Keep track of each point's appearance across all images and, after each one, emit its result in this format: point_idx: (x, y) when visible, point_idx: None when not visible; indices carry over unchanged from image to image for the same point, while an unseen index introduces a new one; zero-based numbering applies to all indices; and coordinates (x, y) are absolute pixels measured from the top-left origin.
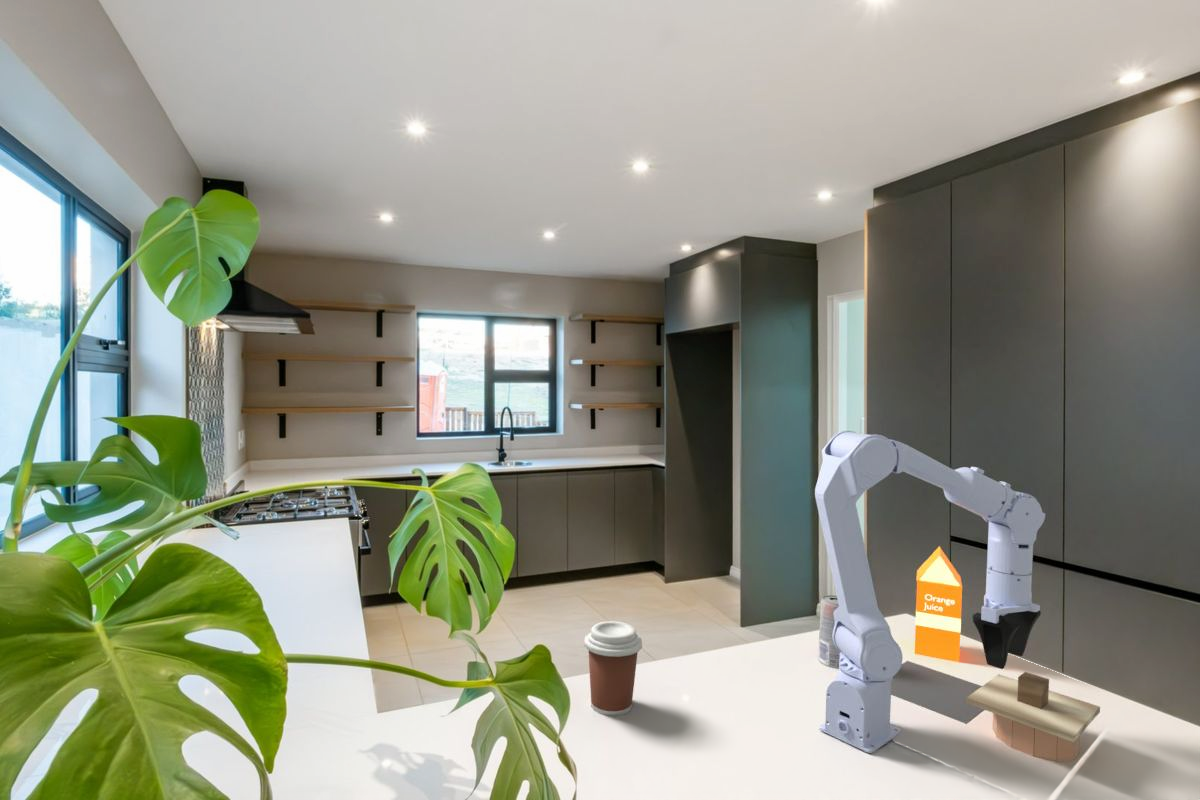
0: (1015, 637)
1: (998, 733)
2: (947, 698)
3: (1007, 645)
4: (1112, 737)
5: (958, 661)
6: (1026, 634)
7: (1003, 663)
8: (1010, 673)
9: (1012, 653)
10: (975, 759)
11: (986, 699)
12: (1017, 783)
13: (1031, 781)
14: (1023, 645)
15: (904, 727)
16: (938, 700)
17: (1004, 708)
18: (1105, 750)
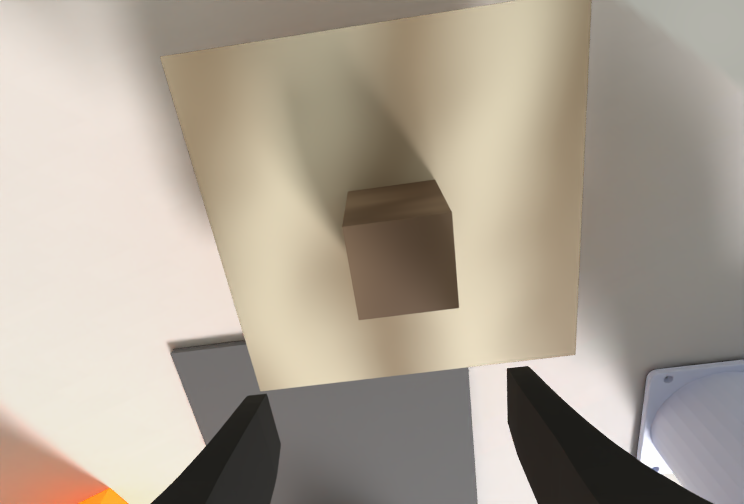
0: (244, 494)
1: None
2: (362, 406)
3: (626, 453)
4: (99, 58)
5: (107, 496)
6: (217, 486)
7: (543, 382)
8: (4, 406)
9: (274, 425)
10: (633, 215)
11: (529, 317)
12: (681, 92)
13: (637, 75)
14: (249, 433)
15: (608, 379)
16: (397, 410)
17: (554, 253)
18: (220, 32)
